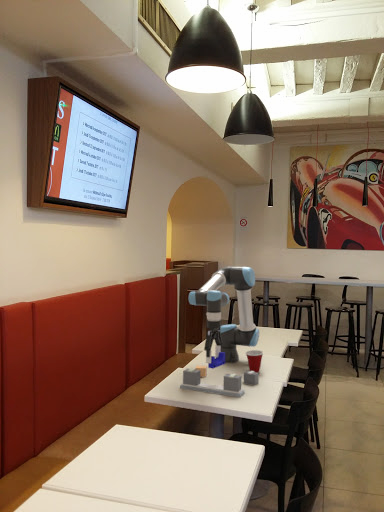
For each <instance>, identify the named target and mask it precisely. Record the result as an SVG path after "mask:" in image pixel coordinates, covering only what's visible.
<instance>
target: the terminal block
mask: <svg viewBox="0 0 384 512" xmlns="http://www.w3.org/2000/svg"><path fill="white" fill-rule="evenodd" d="M194 369H196V370H201V377H203V378H206V377H207V375H208V365H196V366H195V368H194Z"/></svg>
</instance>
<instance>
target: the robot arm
mask: <svg viewBox="0 0 384 512" xmlns="http://www.w3.org/2000/svg"><path fill="white" fill-rule="evenodd" d="M229 285H230V286H233V288H234V290H235V291H236V296H237V306H238V307H237V309H238V317H239V324H238V325H237V324H235V323H231V324H223V325H222V321H221V320H222V307H226V306H227V305H228V304H229V302H230V296H229V294H227V293H226V292H222V291H221V290H219V288H222V287H223V286H229ZM255 285H256V274H255V271H254V269H253V268H252V267H249V266H224V267H221V268H219V269H218V270H217V271H215V272H213V274H212V275H211V278H210V279H208V281H206V282H205V283H204V284H203V285H202V286H201V287H200V288H199V289H198V290H197V291H195V290H194V291H190V292H189V294H188V302H189V305H194V306H206V313H205V315H206V328H208V330H207V331H206V337H205V342H204V350H203V351H205V364H208V363H211V356H212V346H213V343H215V346H214V348H215V350H214V351H215V352H214V354H215V355H214V356H215V358H217V357H218V356H219V352H223V353H225V363H236V362H239V361H240V355H239V353H238V352H239V351H238V349H237V346H243V347H253V348H254V347H256V346H257V345H258V342H259V340H260V339H259V338H260V329H259V328H257V326H256V324H255V323H254V316H253V315H254V314H253V305H252V294H251V293H252V292H251V291H252V289H253V287H254V286H255Z"/></svg>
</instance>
